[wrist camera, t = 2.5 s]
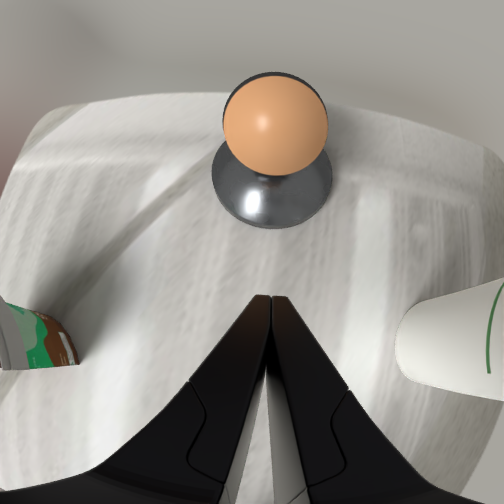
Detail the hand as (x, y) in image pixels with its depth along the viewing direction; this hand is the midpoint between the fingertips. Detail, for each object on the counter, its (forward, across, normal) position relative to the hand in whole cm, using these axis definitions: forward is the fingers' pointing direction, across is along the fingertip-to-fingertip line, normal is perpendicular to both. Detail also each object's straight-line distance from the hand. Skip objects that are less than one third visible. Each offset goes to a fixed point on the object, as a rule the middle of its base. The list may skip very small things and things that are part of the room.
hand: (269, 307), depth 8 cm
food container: (+7, +20, +13) cm, 25 cm away
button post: (+18, 0, +1) cm, 18 cm away
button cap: (+14, 0, -2) cm, 14 cm away
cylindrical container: (+8, -14, +11) cm, 20 cm away
